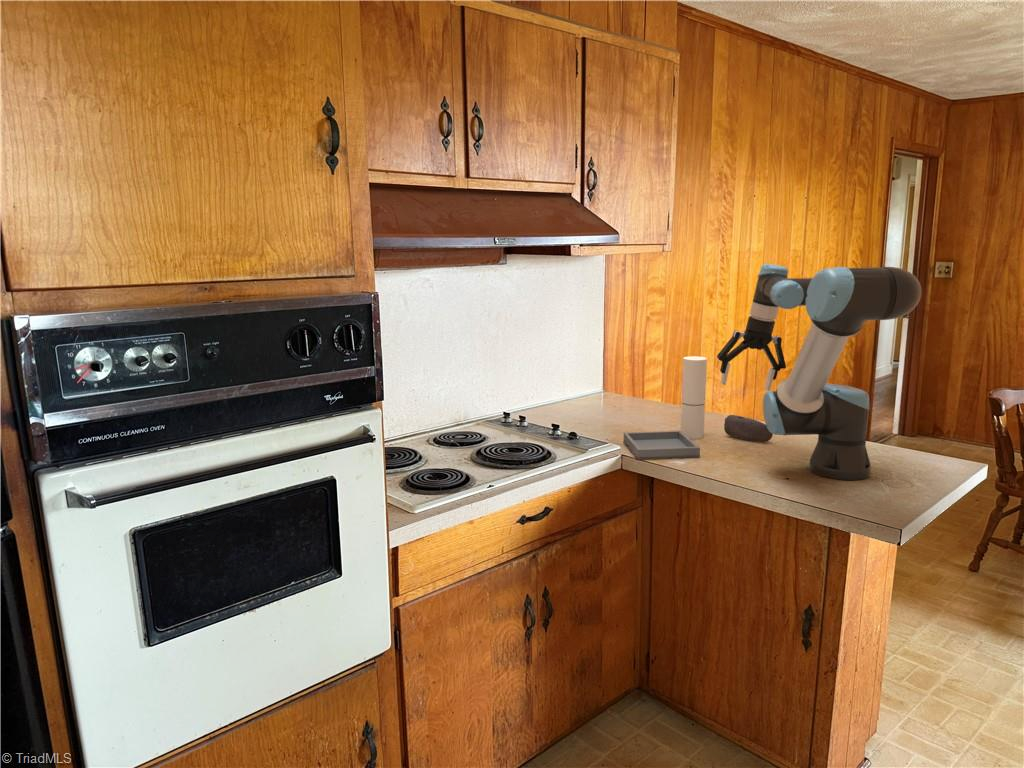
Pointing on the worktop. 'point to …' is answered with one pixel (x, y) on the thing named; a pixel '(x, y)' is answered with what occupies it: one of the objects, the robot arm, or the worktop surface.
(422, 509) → the worktop surface
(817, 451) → the robot arm
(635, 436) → the slate tray
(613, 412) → the worktop surface
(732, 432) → the perforated stone tool
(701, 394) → the cylindrical container
